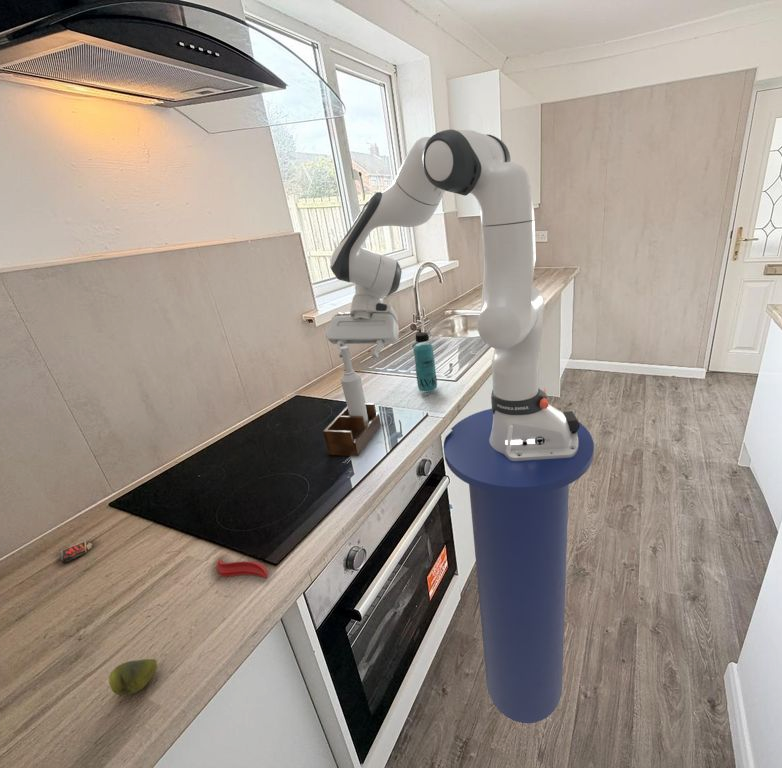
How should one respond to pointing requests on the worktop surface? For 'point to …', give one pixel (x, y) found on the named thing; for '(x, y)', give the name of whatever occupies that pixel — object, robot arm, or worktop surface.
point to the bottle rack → (351, 432)
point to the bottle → (353, 388)
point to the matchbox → (74, 551)
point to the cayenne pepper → (241, 569)
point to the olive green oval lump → (132, 676)
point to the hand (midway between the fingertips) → (358, 357)
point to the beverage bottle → (425, 363)
